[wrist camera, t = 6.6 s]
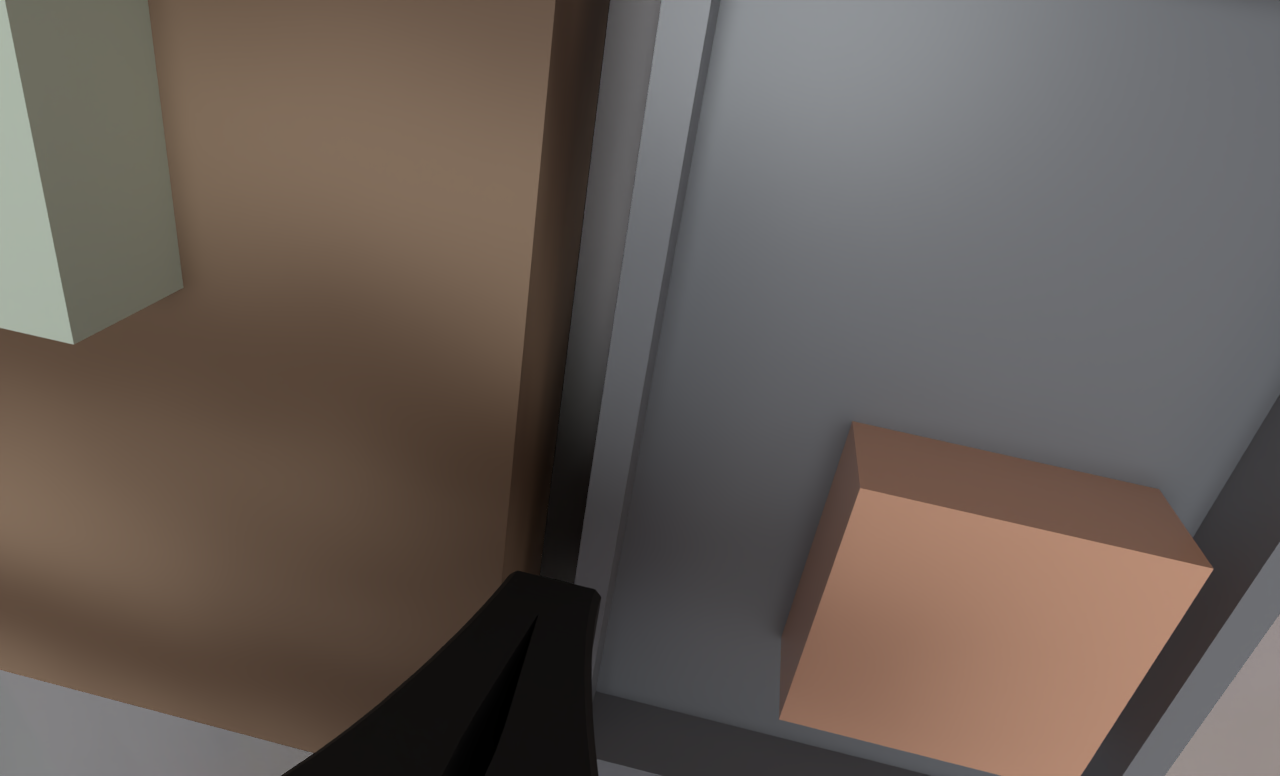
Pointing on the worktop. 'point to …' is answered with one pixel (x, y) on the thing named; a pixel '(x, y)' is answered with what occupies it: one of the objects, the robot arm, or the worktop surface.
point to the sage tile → (81, 168)
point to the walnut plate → (311, 365)
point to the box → (928, 330)
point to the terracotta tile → (981, 604)
